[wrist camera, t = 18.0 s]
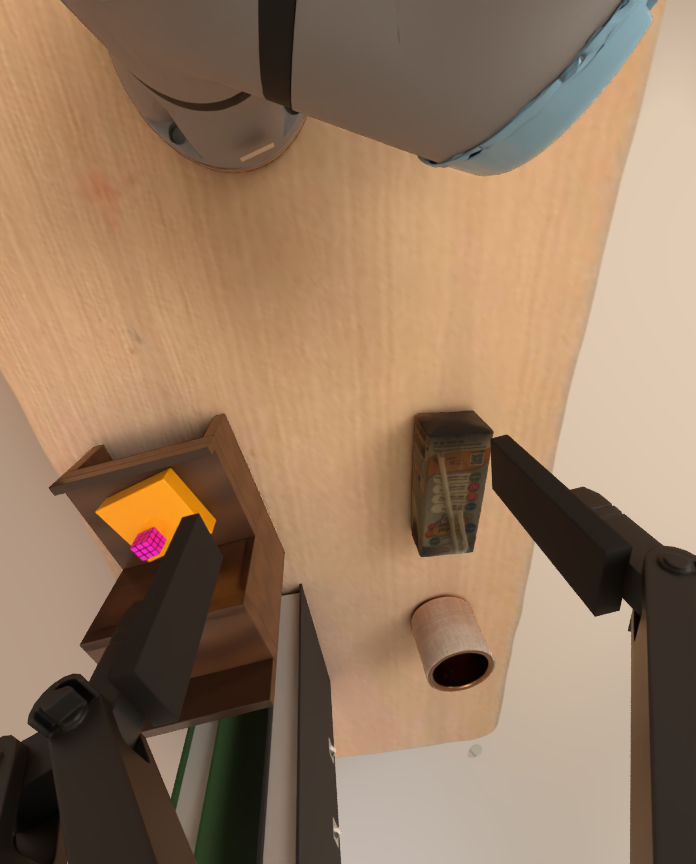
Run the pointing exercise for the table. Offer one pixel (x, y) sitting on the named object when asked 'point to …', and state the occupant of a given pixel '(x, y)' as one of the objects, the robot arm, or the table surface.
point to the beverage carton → (448, 481)
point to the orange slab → (152, 513)
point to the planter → (451, 644)
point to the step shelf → (237, 580)
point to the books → (267, 766)
